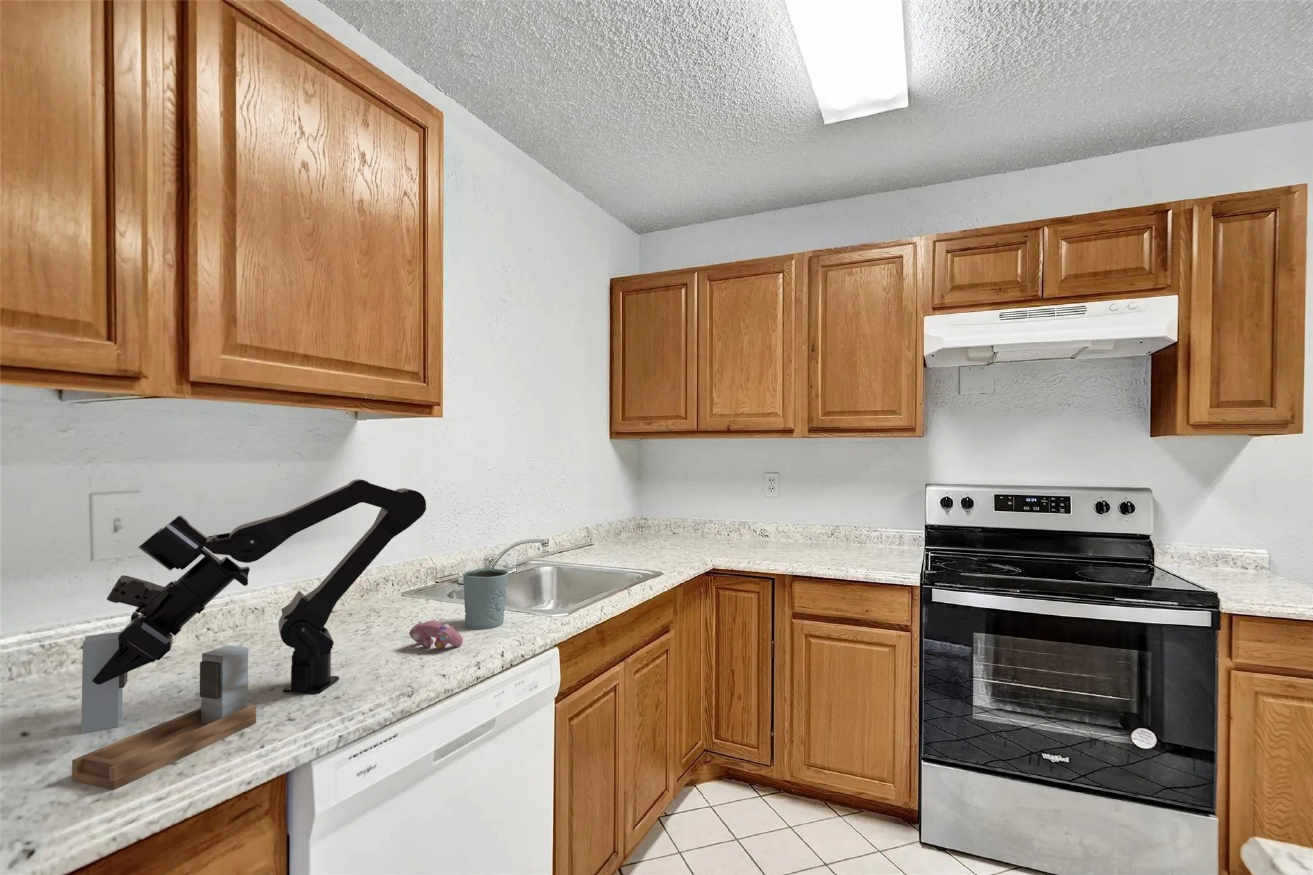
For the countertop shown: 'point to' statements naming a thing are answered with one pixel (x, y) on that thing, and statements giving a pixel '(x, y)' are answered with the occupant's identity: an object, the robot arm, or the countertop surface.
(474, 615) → the grey green cup
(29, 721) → the countertop surface
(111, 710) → the slate finger
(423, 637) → the video game controller
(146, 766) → the walnut rail
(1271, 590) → the countertop surface
